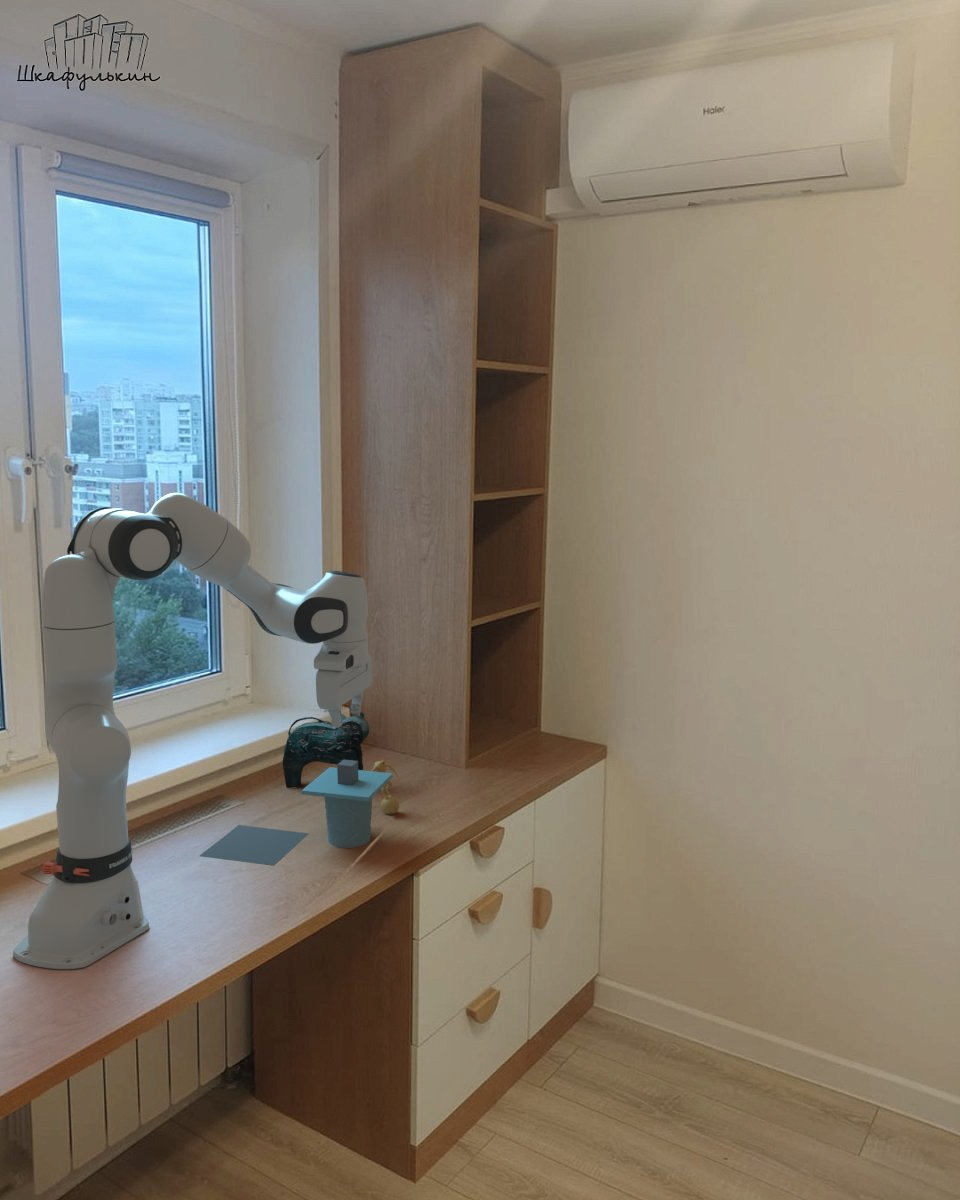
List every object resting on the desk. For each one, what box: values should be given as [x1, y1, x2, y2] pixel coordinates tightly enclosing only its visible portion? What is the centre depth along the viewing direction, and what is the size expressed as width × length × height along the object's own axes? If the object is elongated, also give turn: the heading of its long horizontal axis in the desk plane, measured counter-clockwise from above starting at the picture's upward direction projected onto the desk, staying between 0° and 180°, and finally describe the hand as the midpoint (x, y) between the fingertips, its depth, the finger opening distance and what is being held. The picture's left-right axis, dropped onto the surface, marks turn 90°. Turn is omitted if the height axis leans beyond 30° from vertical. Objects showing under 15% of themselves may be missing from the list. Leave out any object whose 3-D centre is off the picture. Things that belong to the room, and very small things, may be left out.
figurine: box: [370, 759, 400, 816], centre depth 232 cm, size 8×6×12 cm
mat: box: [199, 824, 309, 867], centre depth 215 cm, size 16×16×1 cm
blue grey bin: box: [323, 796, 374, 849], centre depth 217 cm, size 10×10×12 cm
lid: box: [301, 760, 394, 801], centre depth 216 cm, size 14×14×5 cm
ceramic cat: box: [282, 709, 370, 788], centre depth 247 cm, size 20×6×20 cm, turn 84°
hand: (346, 719), depth 214 cm, fingers open, 8 cm apart
